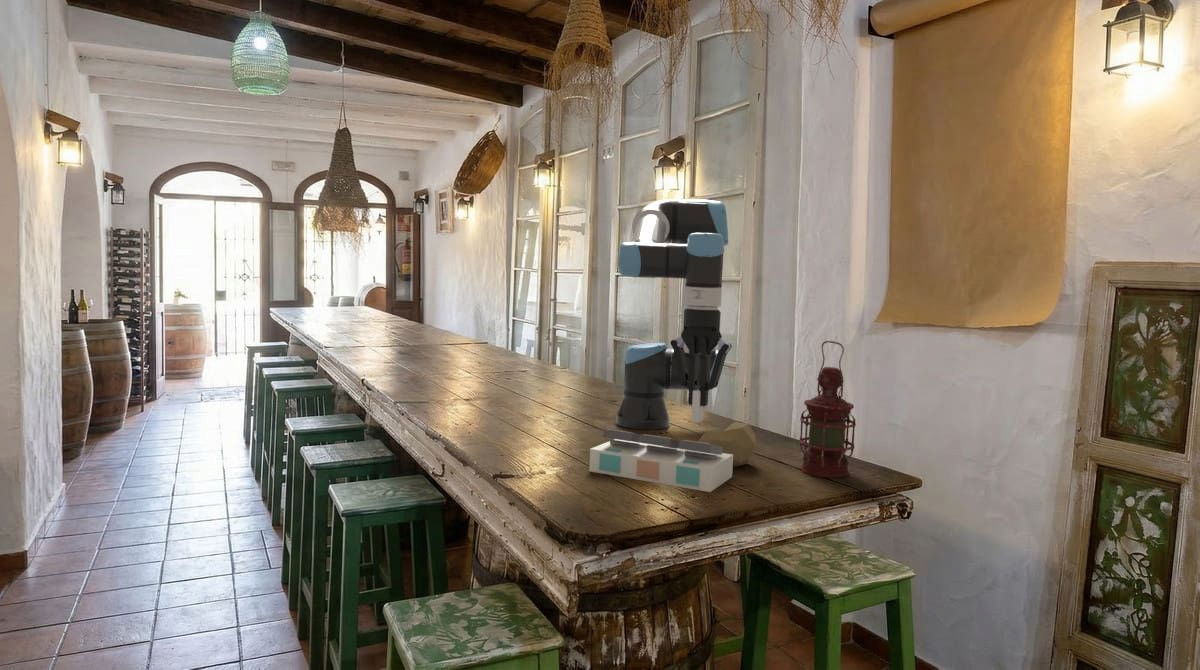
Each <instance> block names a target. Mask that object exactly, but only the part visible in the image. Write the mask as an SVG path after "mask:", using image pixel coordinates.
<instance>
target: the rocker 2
mask: <svg viewBox="0 0 1200 670" xmlns="http://www.w3.org/2000/svg"><path fill="white" fill-rule="evenodd" d="M678 440H679V447H678V448H679V449H685V450H692V451H698V452H705V453H712V454H718V455H722V449H723V447H722V446H716V445H711V444H709V443H702V442H698V441H694V440H687V439H681V440H680V439H678Z"/></svg>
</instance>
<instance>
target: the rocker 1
mask: <svg viewBox="0 0 1200 670" xmlns="http://www.w3.org/2000/svg"><path fill="white" fill-rule="evenodd" d="M602 433H603V435H602V438H606V439H611V440H614V439H618V440H625V441H631V442H638V443H640V437H641V434H639V433H635V432H632V431H624V430H618V429H610V428H603V432H602Z"/></svg>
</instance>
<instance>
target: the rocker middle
mask: <svg viewBox="0 0 1200 670" xmlns="http://www.w3.org/2000/svg"><path fill="white" fill-rule="evenodd" d="M640 435H641V437H640V443H645V444H652V445H658V446H665V447H672V448H678V447H679V440H680V439H674V438H672V437H666V436H660V435H653V434H645V433H643V434H640ZM678 449H679V448H678Z"/></svg>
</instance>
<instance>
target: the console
mask: <svg viewBox="0 0 1200 670" xmlns="http://www.w3.org/2000/svg"><path fill="white" fill-rule="evenodd" d="M733 468H734V467H733V455H732V454H726V453H722V455H718V454H712V453H705V452H698V451H692V450H685V449H678V448H672V447H665V446H658V445H652V444H645V443H638V442H631V441H625V440H618V439H610V440H609V441H606V442H604V443H602V444H598V445H597V446H594V447H591V448H589V469H588V470H589V471H588V472H590V473H591V472H592V473H597V474H598V473H599V474H603V475H604V474H605V475H610V476H615V477H621V478H626V479H627V478H628V479H632V480H638V481H644V482H649V483H656V484H662V485H666V486H667V485H668V486H672V487H673V486H674V487H678V488H683V489H689V490H696V491H701V492H702V491H703V492H706V493H711V492H713V491H714V490H715V489H717V488H718V487H720V486H721V485H723V484H724V483H725V482H727V481H728V480H730V479H731V478H732V477H733Z"/></svg>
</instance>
